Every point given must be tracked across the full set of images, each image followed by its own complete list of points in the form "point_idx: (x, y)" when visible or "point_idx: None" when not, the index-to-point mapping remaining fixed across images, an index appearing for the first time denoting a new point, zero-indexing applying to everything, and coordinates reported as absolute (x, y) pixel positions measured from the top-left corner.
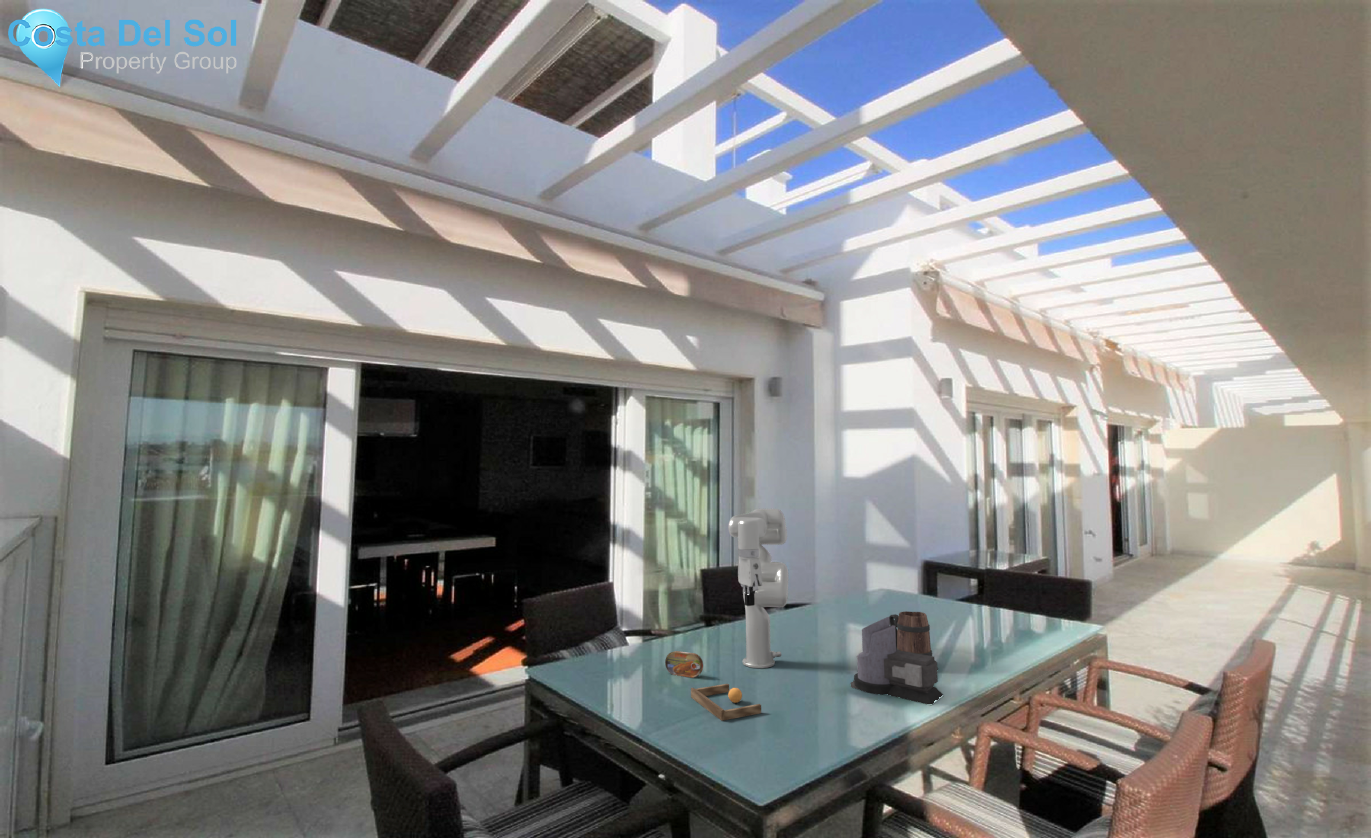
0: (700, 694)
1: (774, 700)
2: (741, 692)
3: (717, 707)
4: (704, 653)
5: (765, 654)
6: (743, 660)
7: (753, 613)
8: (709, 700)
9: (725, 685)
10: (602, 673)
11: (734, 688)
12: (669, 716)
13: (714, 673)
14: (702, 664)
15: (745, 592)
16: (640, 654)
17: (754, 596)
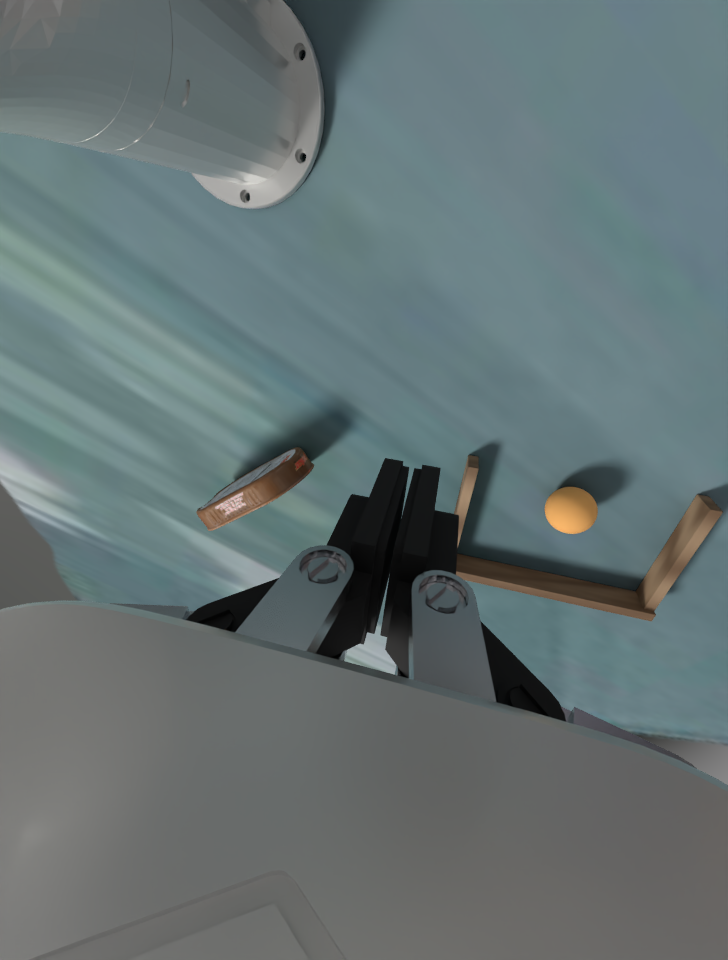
0: (503, 586)
1: (669, 382)
2: (589, 500)
3: (624, 614)
4: (56, 270)
5: (279, 84)
6: (214, 190)
7: (68, 97)
8: (562, 597)
9: (475, 480)
10: (188, 596)
11: (576, 527)
12: (516, 647)
13: (290, 383)
14: (298, 463)
15: (344, 653)
16: (53, 461)
17: (430, 530)
